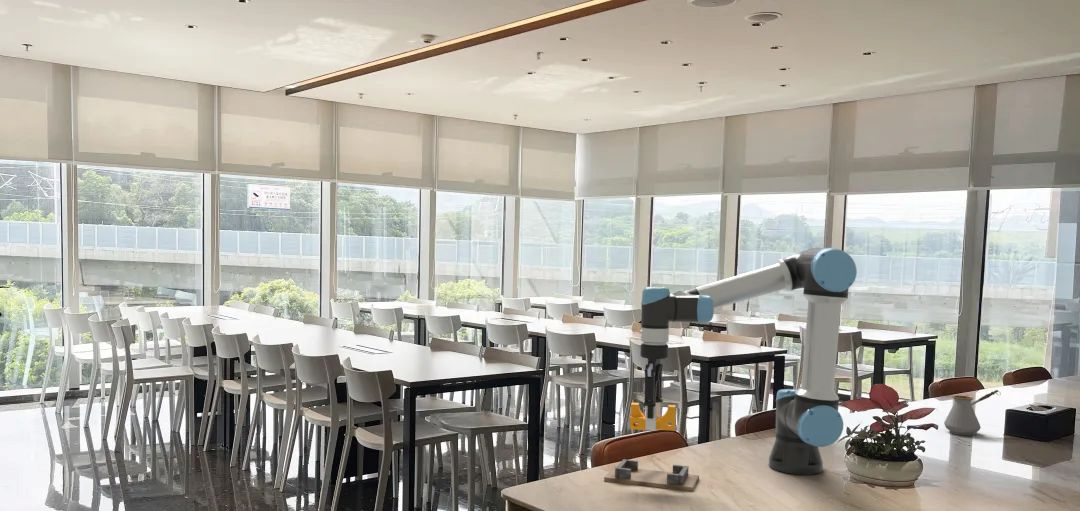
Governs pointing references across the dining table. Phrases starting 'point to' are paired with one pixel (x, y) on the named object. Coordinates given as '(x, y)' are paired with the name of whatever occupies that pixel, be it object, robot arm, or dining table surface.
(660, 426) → the pipe clamp
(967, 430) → the coffee pot
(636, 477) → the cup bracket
